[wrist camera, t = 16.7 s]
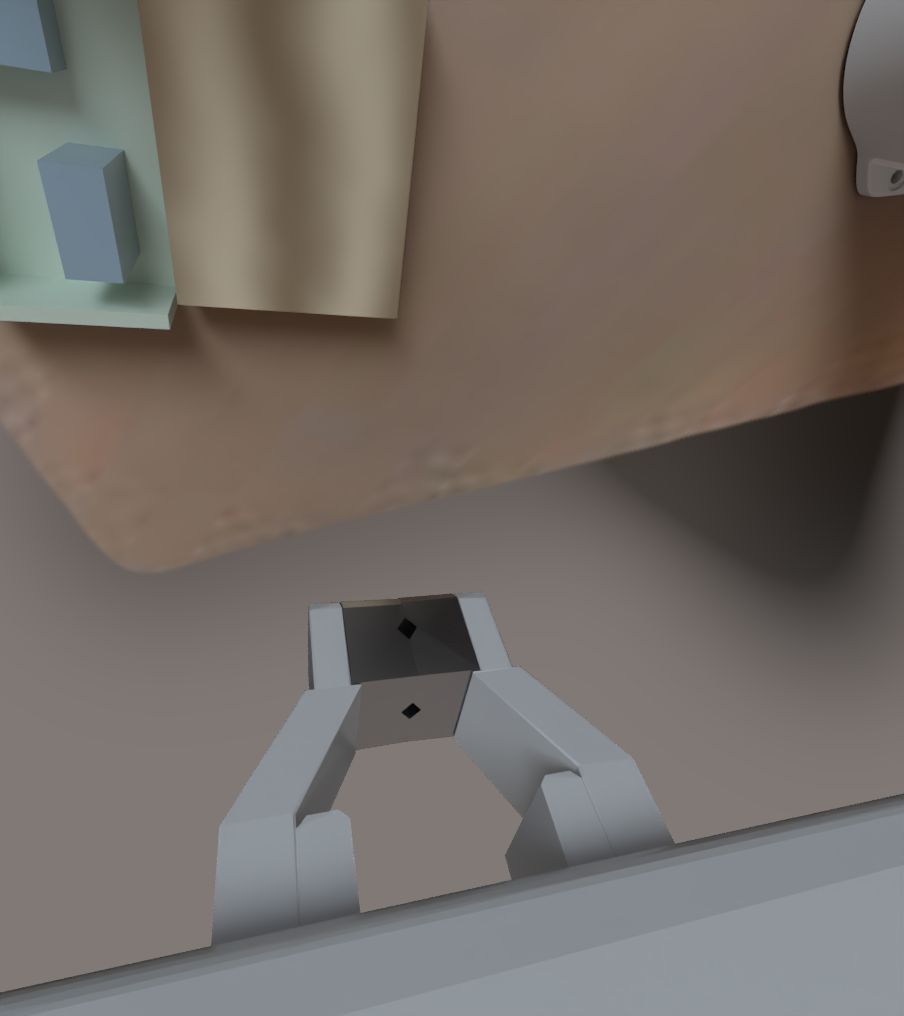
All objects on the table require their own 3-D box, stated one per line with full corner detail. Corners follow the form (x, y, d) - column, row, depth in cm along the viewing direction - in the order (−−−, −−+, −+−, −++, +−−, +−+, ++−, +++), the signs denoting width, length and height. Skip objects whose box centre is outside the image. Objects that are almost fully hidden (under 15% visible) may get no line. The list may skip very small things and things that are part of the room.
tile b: (102, 168, 26) (36, 160, 25) (123, 283, 29) (65, 279, 28) (123, 149, 29) (66, 142, 29) (140, 253, 32) (89, 248, 32)
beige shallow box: (415, -38, 28) (433, -45, 25) (387, 295, 38) (397, 319, 35) (138, -105, 25) (120, -122, 22) (185, 279, 34) (177, 304, 31)
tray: (123, -142, 24) (96, -171, 20) (180, 296, 35) (169, 329, 31) (-184, -220, 21) (-281, -271, 17) (-18, 282, 32) (-55, 317, 28)
